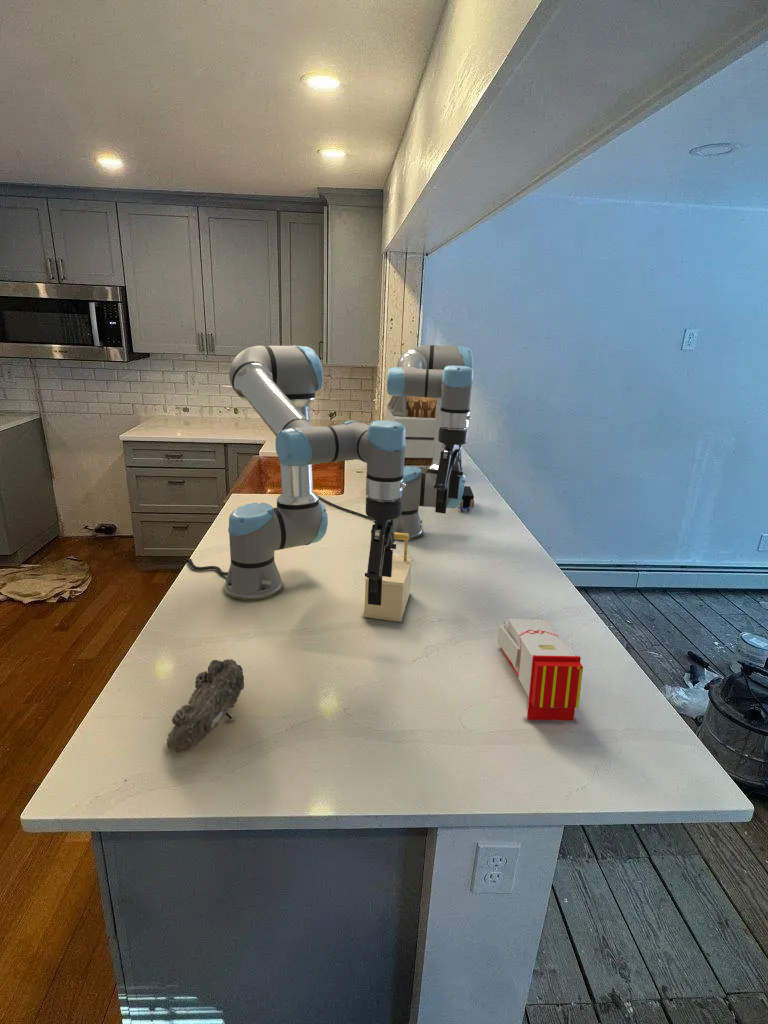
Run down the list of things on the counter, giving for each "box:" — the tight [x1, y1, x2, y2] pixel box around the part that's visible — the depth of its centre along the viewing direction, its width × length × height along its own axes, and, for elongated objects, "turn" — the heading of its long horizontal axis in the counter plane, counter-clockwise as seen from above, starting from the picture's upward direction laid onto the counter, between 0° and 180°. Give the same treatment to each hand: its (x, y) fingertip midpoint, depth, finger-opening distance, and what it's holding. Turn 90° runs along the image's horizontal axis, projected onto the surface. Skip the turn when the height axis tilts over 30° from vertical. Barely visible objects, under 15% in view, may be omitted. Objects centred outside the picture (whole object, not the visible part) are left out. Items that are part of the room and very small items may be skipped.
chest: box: [363, 563, 413, 623], centre depth 150 cm, size 15×10×10 cm, turn 169°
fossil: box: [166, 658, 245, 754], centre depth 106 cm, size 22×10×15 cm
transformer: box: [385, 395, 437, 467], centre depth 268 cm, size 34×33×41 cm
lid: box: [365, 532, 413, 587], centre depth 147 cm, size 16×10×9 cm, turn 169°
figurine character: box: [457, 485, 475, 513], centre depth 228 cm, size 7×8×15 cm
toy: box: [497, 618, 584, 722], centre depth 122 cm, size 12×13×30 cm
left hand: (380, 589), depth 124 cm, fingers open, 13 cm apart
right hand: (446, 505), depth 154 cm, fingers open, 13 cm apart
